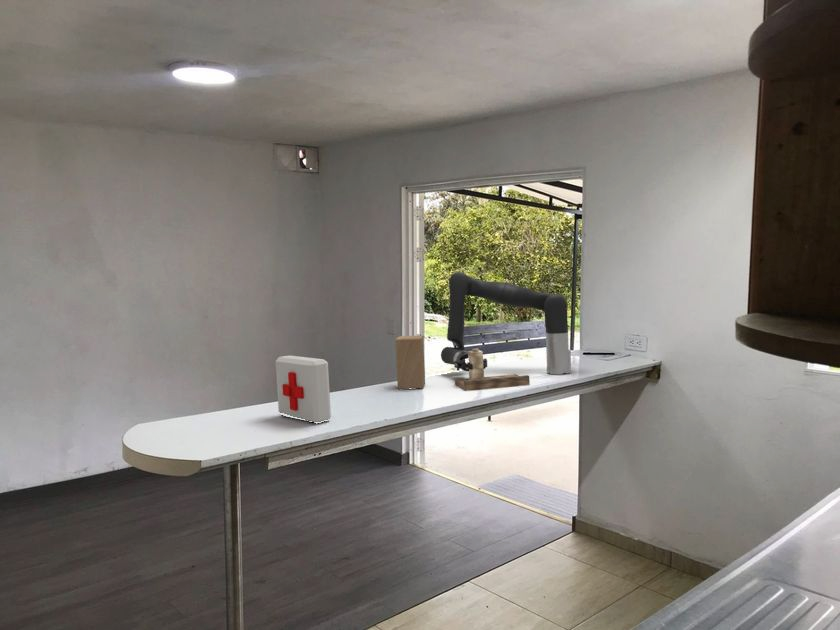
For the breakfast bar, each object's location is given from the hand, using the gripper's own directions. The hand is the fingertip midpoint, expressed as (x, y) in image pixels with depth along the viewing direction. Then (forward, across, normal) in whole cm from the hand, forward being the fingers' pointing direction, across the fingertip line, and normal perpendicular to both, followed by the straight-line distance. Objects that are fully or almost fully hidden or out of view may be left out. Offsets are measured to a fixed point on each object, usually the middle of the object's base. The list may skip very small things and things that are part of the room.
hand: (478, 366), depth 252 cm
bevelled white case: (+23, -68, +9) cm, 72 cm away
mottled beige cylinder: (-3, 0, +6) cm, 7 cm away
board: (-5, +7, +8) cm, 12 cm away
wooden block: (-15, -23, +9) cm, 29 cm away
